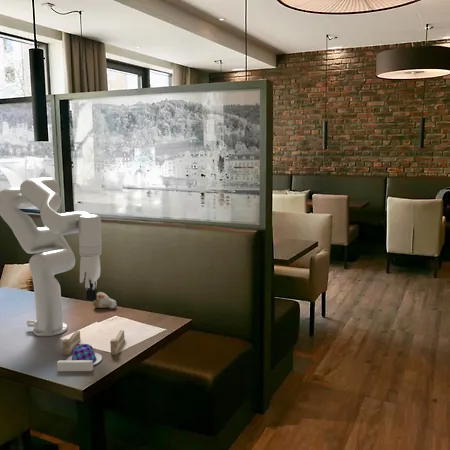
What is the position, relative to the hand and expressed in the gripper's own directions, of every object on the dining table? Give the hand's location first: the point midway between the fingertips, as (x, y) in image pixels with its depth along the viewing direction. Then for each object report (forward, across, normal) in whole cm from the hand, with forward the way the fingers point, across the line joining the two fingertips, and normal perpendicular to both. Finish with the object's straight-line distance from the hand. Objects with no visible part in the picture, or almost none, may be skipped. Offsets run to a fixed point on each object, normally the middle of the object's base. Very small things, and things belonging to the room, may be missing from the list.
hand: (91, 299), depth 172 cm
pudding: (+17, +14, +1) cm, 22 cm away
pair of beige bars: (+17, +2, +2) cm, 17 cm away
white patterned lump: (+19, -40, -6) cm, 45 cm away
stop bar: (+17, +20, 0) cm, 26 cm away
